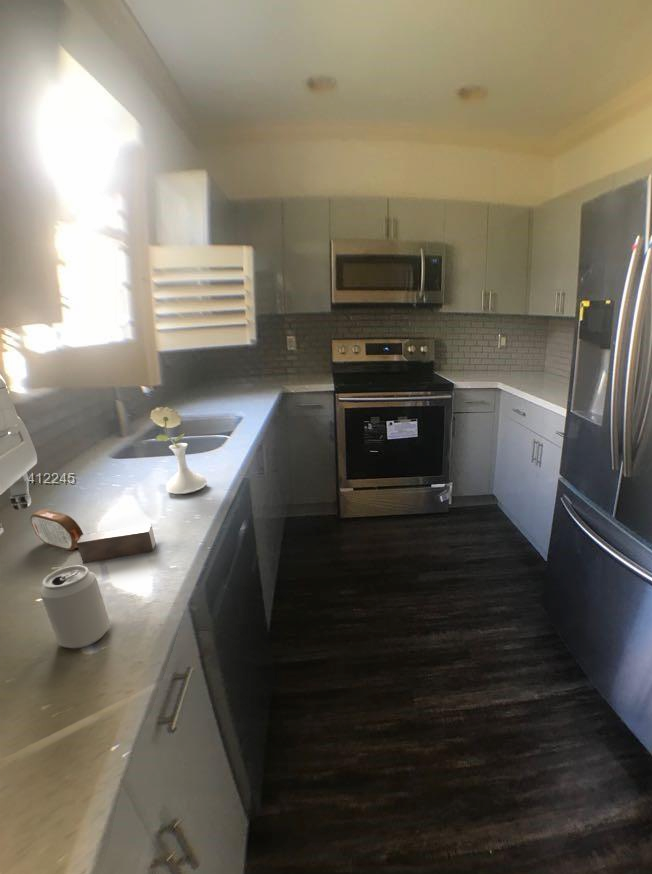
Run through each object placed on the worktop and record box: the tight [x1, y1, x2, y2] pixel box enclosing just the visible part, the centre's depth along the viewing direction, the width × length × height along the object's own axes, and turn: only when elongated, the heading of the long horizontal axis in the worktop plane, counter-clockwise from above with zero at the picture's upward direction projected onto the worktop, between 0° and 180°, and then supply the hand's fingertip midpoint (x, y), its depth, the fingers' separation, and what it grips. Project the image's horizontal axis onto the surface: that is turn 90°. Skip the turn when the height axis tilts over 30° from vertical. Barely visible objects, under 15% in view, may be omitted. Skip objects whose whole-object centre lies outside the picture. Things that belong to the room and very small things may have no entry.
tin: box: [29, 508, 84, 551], centre depth 105 cm, size 15×3×8 cm, turn 65°
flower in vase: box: [149, 406, 208, 495], centre depth 132 cm, size 13×11×25 cm
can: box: [39, 564, 111, 649], centre depth 74 cm, size 8×8×12 cm
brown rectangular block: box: [77, 523, 157, 564], centre depth 101 cm, size 14×4×5 cm, turn 108°
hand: (9, 521), depth 59 cm, fingers open, 8 cm apart
